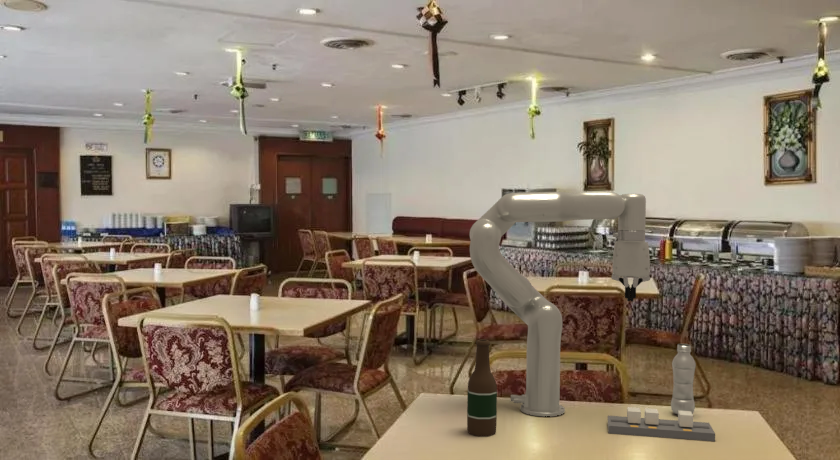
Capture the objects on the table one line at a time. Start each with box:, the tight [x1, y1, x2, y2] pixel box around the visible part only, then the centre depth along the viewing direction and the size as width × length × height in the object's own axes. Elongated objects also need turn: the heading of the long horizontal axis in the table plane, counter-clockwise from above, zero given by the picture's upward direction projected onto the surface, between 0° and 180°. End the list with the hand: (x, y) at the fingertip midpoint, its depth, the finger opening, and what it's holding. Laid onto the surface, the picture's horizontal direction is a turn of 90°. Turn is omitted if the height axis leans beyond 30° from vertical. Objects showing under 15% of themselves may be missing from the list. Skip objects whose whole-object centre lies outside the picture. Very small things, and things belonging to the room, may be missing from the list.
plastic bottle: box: [670, 343, 696, 415], centre depth 211 cm, size 6×7×20 cm
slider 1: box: [626, 406, 642, 424], centre depth 195 cm, size 3×4×3 cm
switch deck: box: [607, 415, 716, 442], centre depth 194 cm, size 26×10×2 cm, turn 77°
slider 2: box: [643, 407, 660, 425], centre depth 194 cm, size 3×4×3 cm
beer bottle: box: [466, 338, 498, 437], centre depth 191 cm, size 8×8×24 cm
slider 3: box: [677, 410, 694, 427], centre depth 193 cm, size 3×4×3 cm
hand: (630, 300), depth 212 cm, fingers closed
